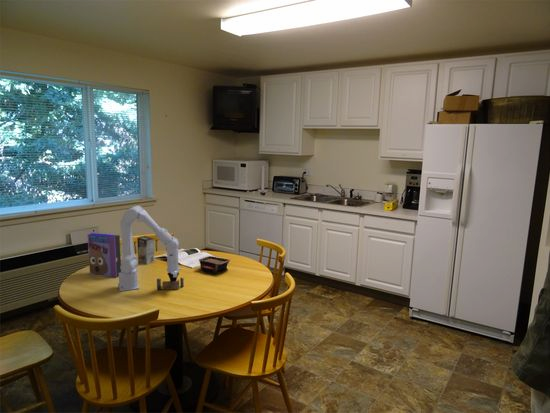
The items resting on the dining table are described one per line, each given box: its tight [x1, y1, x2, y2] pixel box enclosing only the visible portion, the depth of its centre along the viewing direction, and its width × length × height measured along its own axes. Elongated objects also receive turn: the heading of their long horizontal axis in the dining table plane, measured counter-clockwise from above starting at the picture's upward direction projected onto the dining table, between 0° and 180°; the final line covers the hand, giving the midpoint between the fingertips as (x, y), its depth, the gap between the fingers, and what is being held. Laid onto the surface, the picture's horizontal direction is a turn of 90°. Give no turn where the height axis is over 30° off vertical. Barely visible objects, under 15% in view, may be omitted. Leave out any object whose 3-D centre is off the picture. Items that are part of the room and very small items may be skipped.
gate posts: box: [156, 277, 184, 292], centre depth 200 cm, size 14×2×6 cm, turn 114°
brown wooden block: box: [161, 279, 180, 290], centre depth 199 cm, size 8×2×4 cm, turn 100°
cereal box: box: [86, 232, 122, 279], centre depth 216 cm, size 17×5×24 cm, turn 76°
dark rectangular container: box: [198, 255, 231, 275], centre depth 228 cm, size 14×18×10 cm
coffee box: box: [137, 235, 155, 265], centre depth 241 cm, size 9×6×16 cm
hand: (173, 285), depth 201 cm, fingers closed, pressing on brown wooden block
